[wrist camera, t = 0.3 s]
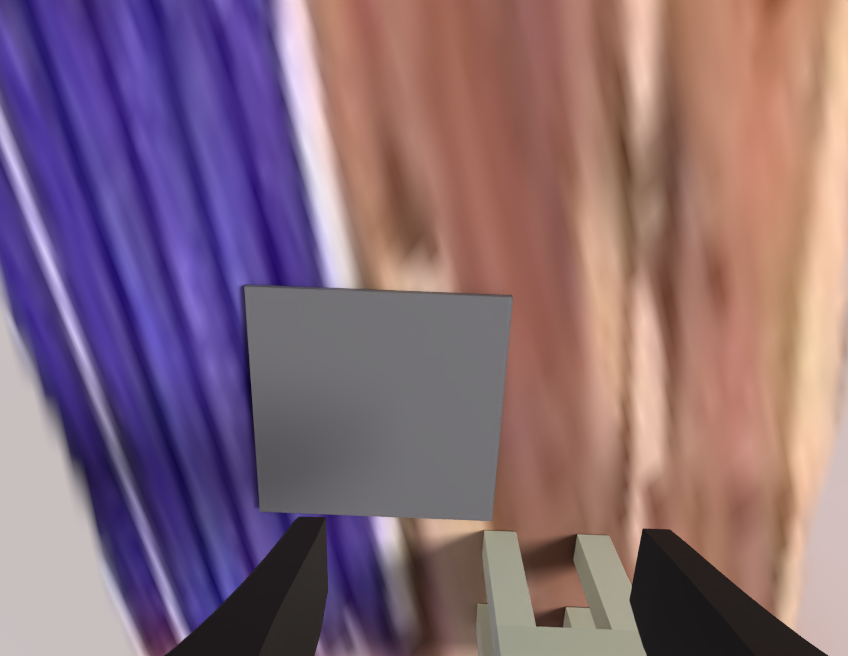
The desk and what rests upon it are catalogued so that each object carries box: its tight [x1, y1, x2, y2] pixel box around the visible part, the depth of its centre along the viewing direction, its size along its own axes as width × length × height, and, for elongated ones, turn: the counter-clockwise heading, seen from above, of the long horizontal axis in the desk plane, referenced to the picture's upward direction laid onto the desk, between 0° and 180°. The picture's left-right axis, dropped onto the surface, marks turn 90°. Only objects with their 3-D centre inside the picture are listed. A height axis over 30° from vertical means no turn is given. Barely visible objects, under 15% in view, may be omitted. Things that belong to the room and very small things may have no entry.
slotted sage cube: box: [476, 530, 647, 656], centre depth 22 cm, size 6×6×6 cm
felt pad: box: [244, 285, 513, 521], centre depth 22 cm, size 10×10×1 cm
